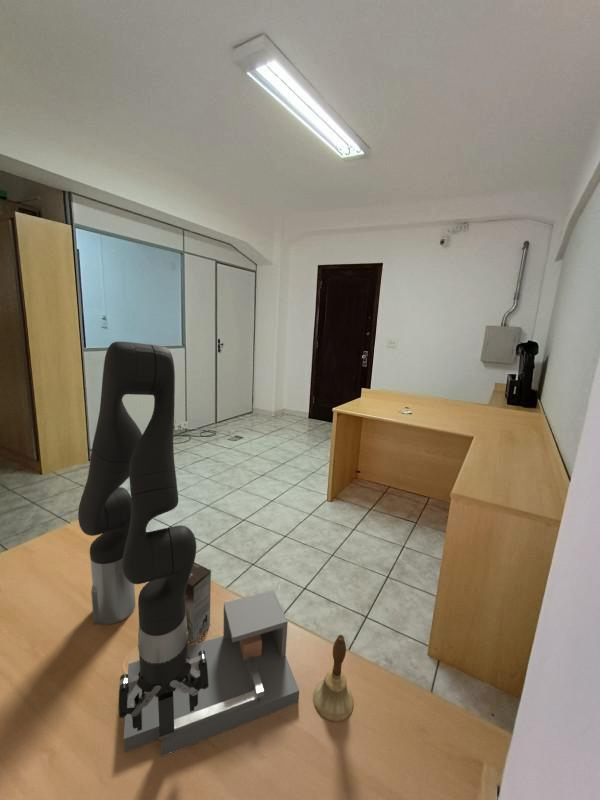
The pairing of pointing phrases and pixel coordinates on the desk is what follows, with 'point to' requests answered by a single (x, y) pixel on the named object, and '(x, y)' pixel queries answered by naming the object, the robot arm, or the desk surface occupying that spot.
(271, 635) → the cubby
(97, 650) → the desk surface
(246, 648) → the block
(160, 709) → the grey bar handle
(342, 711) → the hand bell
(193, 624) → the coffee box
